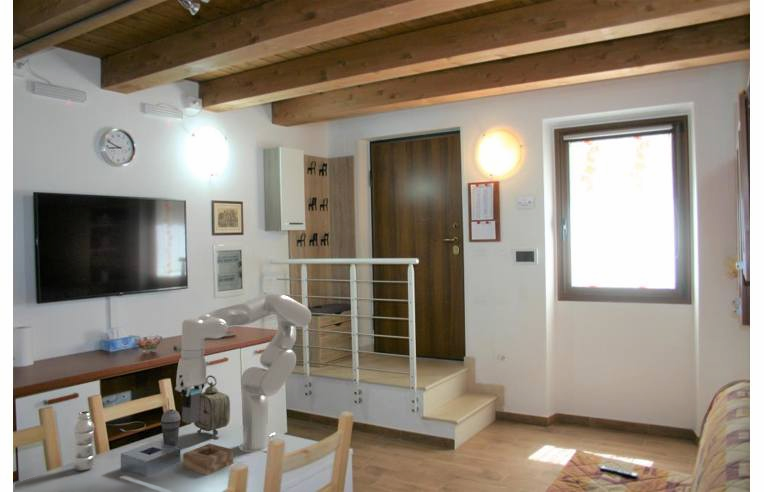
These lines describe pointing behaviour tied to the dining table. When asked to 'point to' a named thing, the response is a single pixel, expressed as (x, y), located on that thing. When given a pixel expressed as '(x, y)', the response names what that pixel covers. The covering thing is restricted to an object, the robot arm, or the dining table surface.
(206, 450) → the wooden square hole block
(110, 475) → the dining table surface
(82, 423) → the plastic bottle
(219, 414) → the tabletop clock
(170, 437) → the beverage cup
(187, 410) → the plug
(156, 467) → the socket block
